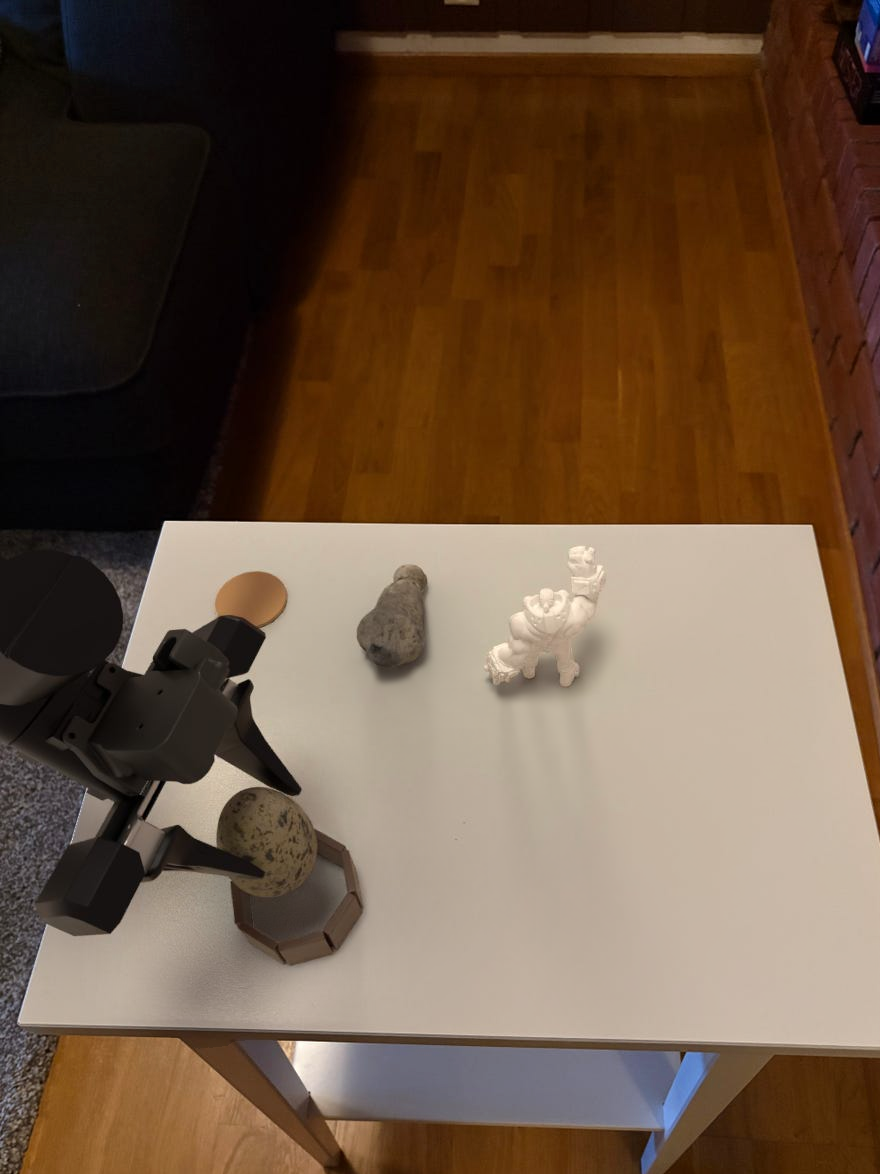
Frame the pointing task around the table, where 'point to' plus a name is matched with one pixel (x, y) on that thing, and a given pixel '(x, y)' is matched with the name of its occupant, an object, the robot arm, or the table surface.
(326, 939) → the egg holder
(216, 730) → the robot arm
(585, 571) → the figurine
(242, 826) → the decorative egg
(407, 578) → the stone
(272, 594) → the coaster
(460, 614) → the table surface
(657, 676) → the table surface
